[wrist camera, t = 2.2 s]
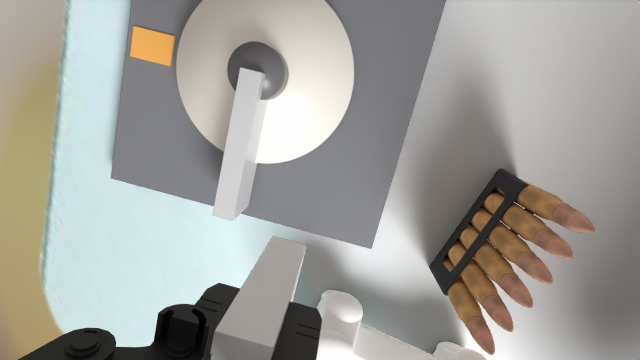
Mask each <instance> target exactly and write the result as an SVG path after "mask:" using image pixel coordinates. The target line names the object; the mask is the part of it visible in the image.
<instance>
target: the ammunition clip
mask: <svg viewBox="0 0 640 360" xmlns="http://www.w3.org/2000/svg"><path fill="white" fill-rule="evenodd" d="M514 202H516V203H517V204H519V205H521V206H523V207H524V208H525V209H523V208H522V207H520V206H519V205H517V204H515V203H514ZM533 214H536V215H538V216H539V217H541V218H544V219H547V220H551V221H553V222H555V223H558V224H560V225H562V226H564V227H566V228H569V229H572V230H574V231H578V232H584V233H591V232H594V231H595V228H594V226H593V224H592V223H591V221H590V220H589V219H588V218H587V217H585V216H584V215H583V214H582V213H580V212H579V211H577V210H576V209H574V208H572V207H570V206H569V205H567V204H565V203H564V202H563V201H561V200H560V199H559V198H558V197H557V196H555V195H553V194H550V193H548V192H546V191H544V190H542V189H540V188H537V187H535V186H533V185H531V184H529V183H527V182H525V181H522V180H520V179H519V178H517V177H515V176H514V175H512V174H510V173H508V172H507V171H505V170H503V169H502V168H501V169H499V170H498V171H497V172H496V174H495V175H494V176H493V178H492V179H491V181H490V182H489V183H488V185H487V186H486V188H485V189H484V190H483V192H482V193H481V195H480V196H479V197H478V199H477V200H476V202H475V203H474V205H473V206H472V207H471V209H470V210H469V212H468V213H467V214H466V216H465V217H464V219H463V220H462V221H461V223H460V224H459V226H458V227H457V228H456V230H455V231H454V233H453V234H452V236H451V237H450V238H449V240H448V241H447V243H446V244H445V245H444V247H443V248H442V250H441V251H440V252H439V254H438V255H437V257H436V258H435V259H434V261H433V262H432V264H431V265H430V266H429V268H430V270H431V272H432V274H433V275H434V277H435V279H436V281H437V283H438V284H439V286H440V288H441V290H442V292H443V293H444V294H445V295H446V296H447V295H448V296H449V298H450V300H451V302H452V304H453V306H454V308H455V310H456V312H457V314H458V316H459V318H460V319H461V320H462V321H463V322H464V323H465V325H466V327H467V328H468V330H469V331H470V333H471V335H472V337H473V338H474V340H475V341H476V342H477V344H478V345H479V346H480V347H481V348H482V349H483V350H484V351H486V352H487V353H488V354H490V355H493V354H494V352H495V346H494V340H493V337H492V334H491V332H490V329H489V327H488V326H487V324H486V321H485V319H484V317H483V315H482V311H481V308H480V306H479V304H478V303H477V301H478V302H479V303H480V304H481V305H482V306H483V308H484V309H485V310H486V311H487V313H488V314H489V316H490V317H491V318H492V319H493V320H494V321H495V322H496V323H497V324H498V325H499V326H500V327H502V328H503V329H505V330H506V331H509V332H512V331H513V321H512V318H511V315H510V313H509V311H508V309H507V307H506V306H505V304H504V303H503V301H502V299H501V297H500V296H499V294H498V292H497V289H496V287H495V285H494V284H493V282H492V281H491V280H490V278H491V279H492V280H493V281H494V282H496V283H497V284H498V285H499V286H500V287H501V288H502V289H503V290H504V291H505V292H506V293H507V294H508V295H509V296H510V297H511V298H512V299H513V300H515V301H516V302H517V303H519V304H521V305H522V306H524V307H527V308H532V306H533V302H532V298H531V295H530V293H529V291H528V289H527V288H526V286H525V285H524V283H523V282H522V281H521V280H520V279H519V277H518V276H517V274H516V273H515V272H514V270H513V268H512V266H511V265H510V263H509V262H508V261H507V260H506V259H505V258H507V259H508V260H509V261H511V262H513V263H515V264H516V265H517V266H518V267H520V268H521V269H522V270H523V271H524V272H526V273H527V274H528V275H530V276H531V277H532V278H534V279H536V280H538V281H540V282H543V283H547V284H551V283H552V282H553V280H552V275H551V274H550V272H549V270H548V268H547V267H546V265H545V264H544V263H543V262H542V261H541V260H540V259H539V258H538V257H537V256H536V255H535V254H534V253H533V252H532V251H531V250H530V248H529V247H528V245H527V244H526V243H525V242H524V241H523V240H522V239H521V238H520V237H518V236H517V235H520V236H521V237H522V238H524V239H525V240H528V241H531V242H533V243H534V244H536V245H537V246H539V247H541V248H542V249H544V250H545V251H547V252H549V253H551V254H553V255H555V256H558V257H561V258H566V259H570V258H573V252H572V250H571V248H570V247H569V245H568V244H567V243H566V242H565V241H564V240H563V239H562V238H561V237H560V236H559V235H557V234H556V233H555V232H553V231H552V230H551V229H550V228H548V227H547V226H546V225H545V223H544V222H543V221H542V220H540V219H539V218H538V217H536V216H534V215H533ZM500 221H502V222H503V223H504V224H506V225H507V226H508V227H509V228H511V229H509V228H507V227H506V226H505V225H504V224H503V223H501V222H500ZM494 247H495V248H496V249H495V248H494ZM502 255H503V256H504V257H505V258H504V257H503V256H502ZM477 262H478V263H477ZM487 275H488V276H489V277H490V278H489V277H488V276H487ZM476 300H477V301H476Z"/></svg>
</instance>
